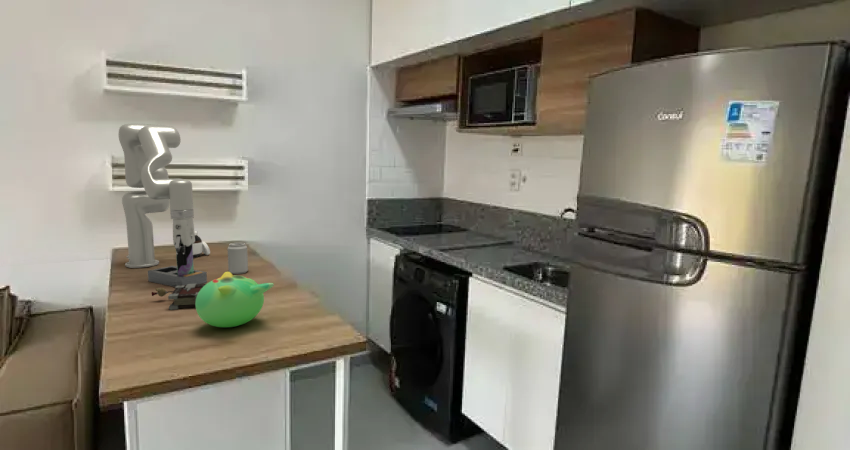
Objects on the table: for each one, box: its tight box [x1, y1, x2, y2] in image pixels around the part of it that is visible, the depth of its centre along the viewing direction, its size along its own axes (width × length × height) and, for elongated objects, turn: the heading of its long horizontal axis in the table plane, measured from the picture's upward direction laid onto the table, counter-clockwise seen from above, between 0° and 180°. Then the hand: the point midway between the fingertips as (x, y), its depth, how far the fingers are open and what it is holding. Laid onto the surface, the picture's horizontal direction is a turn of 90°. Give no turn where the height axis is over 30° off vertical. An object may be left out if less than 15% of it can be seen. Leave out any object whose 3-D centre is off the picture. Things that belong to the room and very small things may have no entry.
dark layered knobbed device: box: [151, 283, 207, 311], centre depth 159 cm, size 15×25×5 cm, turn 106°
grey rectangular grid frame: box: [147, 265, 208, 288], centre depth 183 cm, size 20×10×4 cm, turn 61°
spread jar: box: [192, 230, 211, 259], centre depth 230 cm, size 12×11×12 cm
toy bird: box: [195, 271, 275, 328], centre depth 137 cm, size 18×17×15 cm
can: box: [226, 242, 249, 275], centre depth 199 cm, size 8×8×12 cm
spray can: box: [175, 235, 195, 276], centre depth 180 cm, size 6×6×20 cm
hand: (184, 262), depth 180 cm, fingers closed on spray can, 5 cm apart
